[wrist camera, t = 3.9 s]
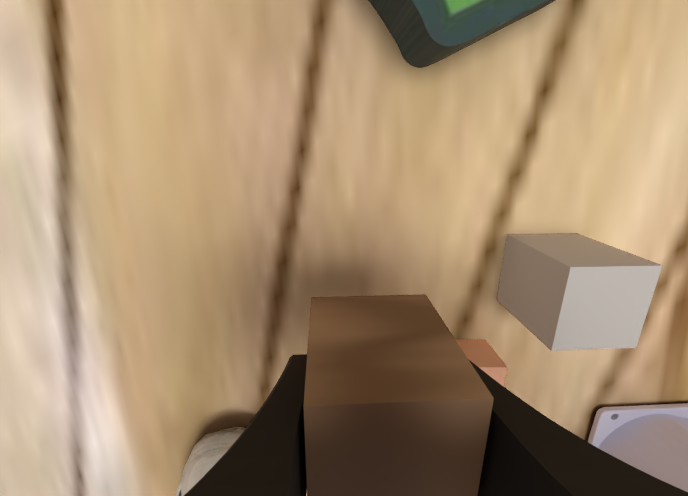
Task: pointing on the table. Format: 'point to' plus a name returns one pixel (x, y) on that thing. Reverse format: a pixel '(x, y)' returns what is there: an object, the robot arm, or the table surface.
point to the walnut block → (390, 401)
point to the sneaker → (206, 456)
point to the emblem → (447, 24)
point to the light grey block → (576, 290)
